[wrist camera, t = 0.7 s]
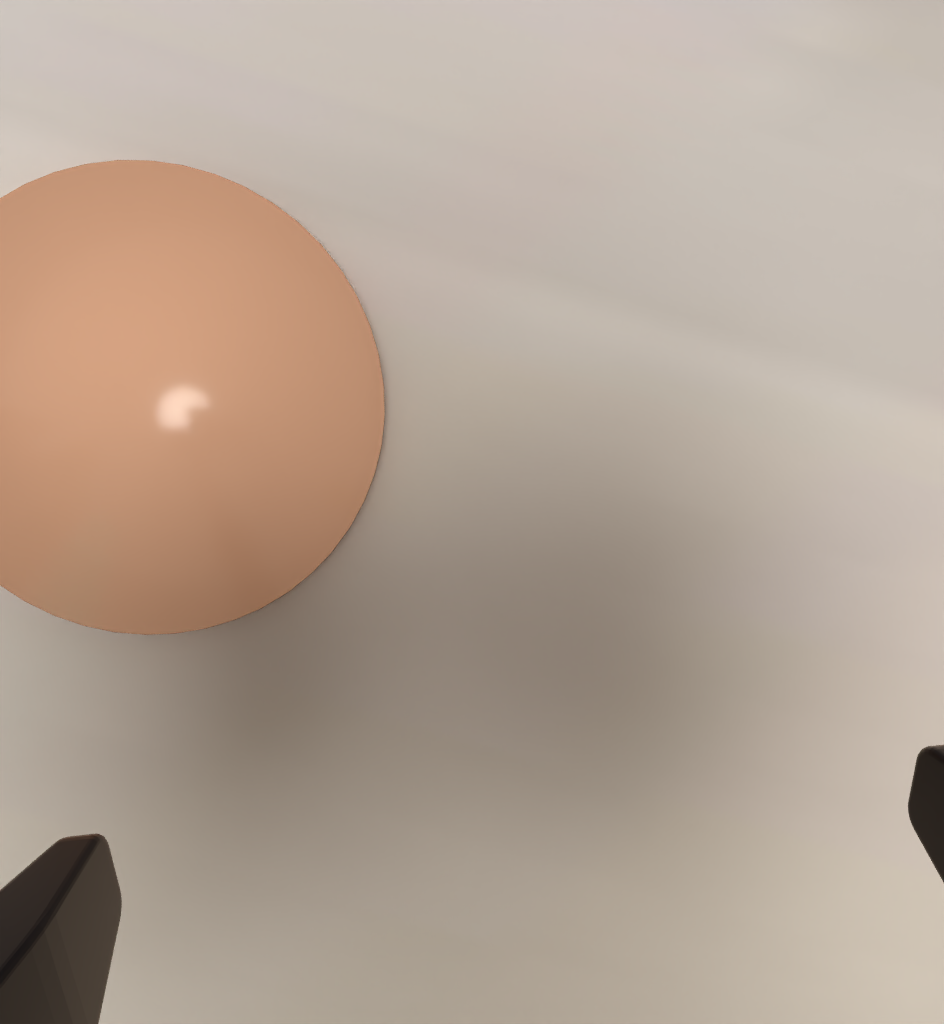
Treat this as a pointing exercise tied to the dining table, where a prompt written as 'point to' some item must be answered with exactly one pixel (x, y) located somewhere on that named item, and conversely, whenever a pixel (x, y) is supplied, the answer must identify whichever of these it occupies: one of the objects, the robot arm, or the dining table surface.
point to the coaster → (173, 398)
